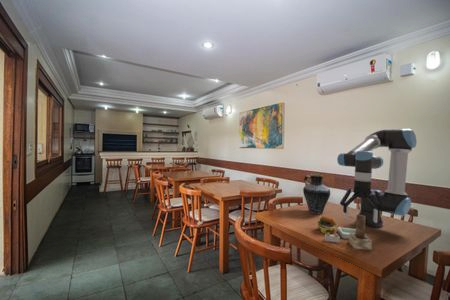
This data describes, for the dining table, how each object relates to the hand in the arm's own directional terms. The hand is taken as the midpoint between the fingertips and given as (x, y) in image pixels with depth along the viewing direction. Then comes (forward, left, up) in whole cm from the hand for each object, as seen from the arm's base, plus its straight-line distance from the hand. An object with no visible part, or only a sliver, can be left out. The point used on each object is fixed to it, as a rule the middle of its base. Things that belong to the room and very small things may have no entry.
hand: (360, 220), depth 115 cm
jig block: (0, 0, -14) cm, 14 cm away
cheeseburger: (+13, -17, -14) cm, 25 cm away
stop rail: (+13, -2, -14) cm, 19 cm away
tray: (+1, -13, -14) cm, 19 cm away
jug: (+14, -54, -14) cm, 58 cm away
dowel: (0, 0, -10) cm, 10 cm away
